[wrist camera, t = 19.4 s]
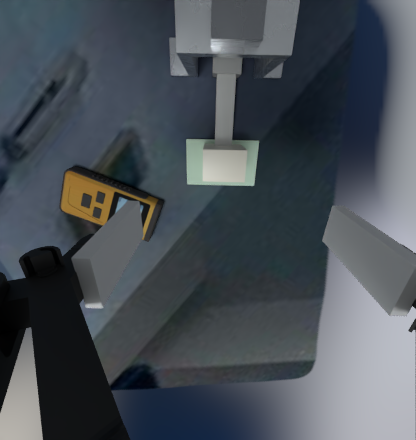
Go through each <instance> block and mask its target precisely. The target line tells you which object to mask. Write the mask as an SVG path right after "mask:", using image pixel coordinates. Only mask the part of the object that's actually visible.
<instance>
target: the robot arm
mask: <svg viewBox="0 0 416 440" xmlns="http://www.w3.org/2000/svg"><path fill="white" fill-rule="evenodd" d="M143 236H144V235H143V227H142V219H141V211H140V202H139V201H127V202H126V203H125V204H124V205H123V206H122V207H121V208H120V209H119V210H118V211H117V212H116V213H115V214H114V215H113V216H112V217H111V218H110V219H109V220H108V221H107V222H106V223H105V224H104V225H103V227H102V228H101V229H100V230H99V231H98V232H97V233H96V234H89V235H87V236H85V237H83V238H82V239H81V240H80V241H78V242H77V243H76V245H74V246H73V247H72V248H71V250H69V251H68V252H67V253H66V254H65V255H64V256H62V254H61V251H60V249H59V248H58V247H55V246H45V247H40V248H37V249H34V250H31V251H29V252H27V253H25V254H24V255H23V256H22V257H20V259H19V263H20V265H21V268H22V270H23V272H24V275H25V277H26V278H22V279H17V280H11V281H7V279H6V276H5V275H4V274H3V273H1V272H0V412H1V408H2V405H3V402H4V399H5V396H6V392H7V389H8V386H9V382H10V379H11V376H12V372H13V369H14V366H15V363H16V360H17V356H18V353H19V350H20V346H21V343H22V340H23V337H24V334H25V330H26V328H29V327H31V329H32V338H33V347H34V357H35V366H36V377H37V386H38V395H39V405H40V415H41V425H42V434H43V440H130V438H129V435H128V433H127V430H126V428H125V426H124V424H123V421H122V419H121V416H120V414H119V411H118V408H117V405H116V403H115V400H114V397H113V394H112V392H111V389H110V386H109V384H108V381H107V378H106V375H105V373H104V370H103V367H102V364H101V362H100V359H99V356H98V354H97V351H96V348H95V345H94V343H93V340H92V337H91V334H90V332H89V329H88V326H87V324H86V321H85V318H84V315H83V313H82V310H81V307H80V305H79V304H80V302H81V301H82V299H84V302H85V305H86V308H103V307H104V305H105V304H106V302H107V300H108V298H109V296H110V295H111V293H112V291H113V289H114V288H115V286H116V284H117V282H118V281H119V279H120V277H121V275H122V274H123V272H124V270H125V268H126V266H127V265H128V263H129V261H130V259H131V258H132V256H133V254H134V252H135V251H136V249H137V247H138V245H139V244H140V242H141V240H142V238H143ZM322 241H323V242H324V243H325V244H326V245H327V246H328V247H329V249H330V250H331V251H332V252H333V253H334V254H335V255H336V256H337V258H338V259H339V260H340V261H341V262H342V263H343V264H344V265H345V266H346V268H347V269H348V270H349V271H350V272H351V273H352V274H353V275H354V277H356V279H357V280H358V281H359V282H360V283H361V284H362V285H363V287H364V288H365V289H366V290H367V291H368V292H369V293H370V294H371V295H372V297H374V299H375V300H376V301H377V302H378V303H379V304H380V305H381V307H382V308H383V309H384V310H385V311H386V312H387V313H388V315H389V316H407V314H408V313H409V311H410V309H411V307H412V306H413V307H414V308H416V253H413V251H411V250H410V249H408V248H407V247H405V246H403V245H401V244H399V243H398V242H397V241H395V240H394V239H392V238H390V237H389V236H388V235H386V234H385V233H383V232H382V231H380V230H378V229H377V228H376V227H374V226H373V225H371V224H370V223H368V222H367V221H365V220H364V219H362V218H361V217H359V216H358V215H356V214H355V213H354V212H352V211H350V210H349V209H348V208H346V207H345V206H332V209H331V212H330V216H329V219H328V223H327V226H326V230H325V233H324V237H323V240H322ZM413 330H416V319H415V320H414V322H413V324H412V325H411V327H410V329H409V331H410V332H412V331H413Z"/></svg>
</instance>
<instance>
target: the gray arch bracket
mask: <svg viewBox="0 0 416 440" xmlns="http://www.w3.org/2000/svg"><path fill="white" fill-rule="evenodd" d="M299 3H300V0H175V27H176V38H169V43H170V66H171V76H175V77H198V57H227V58H255V62H254V73H253V78H263V79H280V78H281V74H282V67H283V62H284V61H285V60H286V59H288V58H289V57H290V56H291V55H292V49H293V43H294V36H295V30H296V23H297V16H298V10H299Z"/></svg>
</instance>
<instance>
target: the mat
mask: <svg viewBox="0 0 416 440" xmlns="http://www.w3.org/2000/svg"><path fill="white" fill-rule="evenodd" d="M204 143H210V144H215V140H212V139H186V146H187V184H197V185H238V186H254V182H255V173H256V164H257V156H258V147H259V141H254V140H232V144H241V145H242V146H243V147H244V148H245V149H247V150H248V152H247V163H246V173H245V182H206V181H203V147H204Z"/></svg>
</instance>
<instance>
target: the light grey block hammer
mask: <svg viewBox="0 0 416 440" xmlns="http://www.w3.org/2000/svg"><path fill="white" fill-rule="evenodd" d="M241 70H242V58H227V57H213V77H217V83H216V116H215V144H210V143H204V147H203V181H206V182H245V173H246V163H247V152H248V150H247V149H245V148H244V147H243V146H242V145H241V144H232V135H233V119H234V102H235V86H236V78H239V76H240V75H241Z"/></svg>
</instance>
